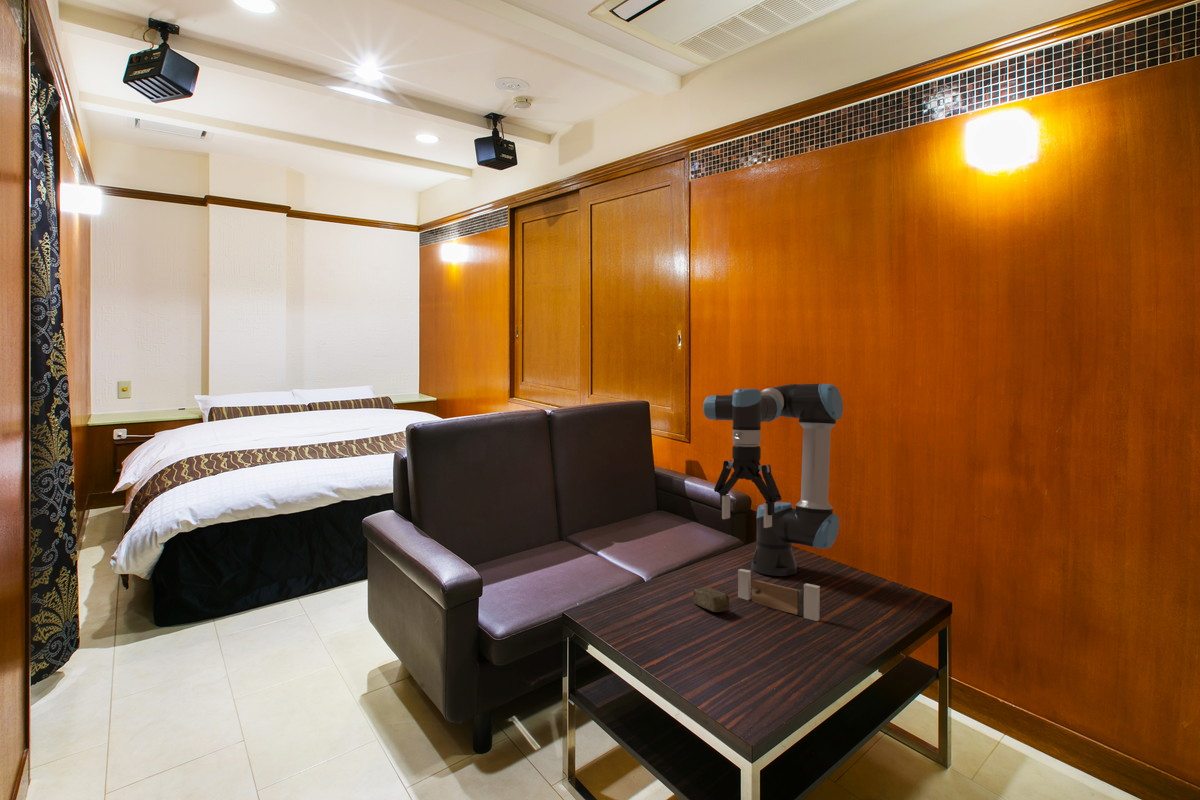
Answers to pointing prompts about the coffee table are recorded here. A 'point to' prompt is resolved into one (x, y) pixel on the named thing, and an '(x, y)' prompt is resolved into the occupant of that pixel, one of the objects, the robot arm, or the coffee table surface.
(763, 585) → the door
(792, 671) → the coffee table surface
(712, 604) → the stone block
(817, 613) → the wall frame
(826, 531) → the robot arm
